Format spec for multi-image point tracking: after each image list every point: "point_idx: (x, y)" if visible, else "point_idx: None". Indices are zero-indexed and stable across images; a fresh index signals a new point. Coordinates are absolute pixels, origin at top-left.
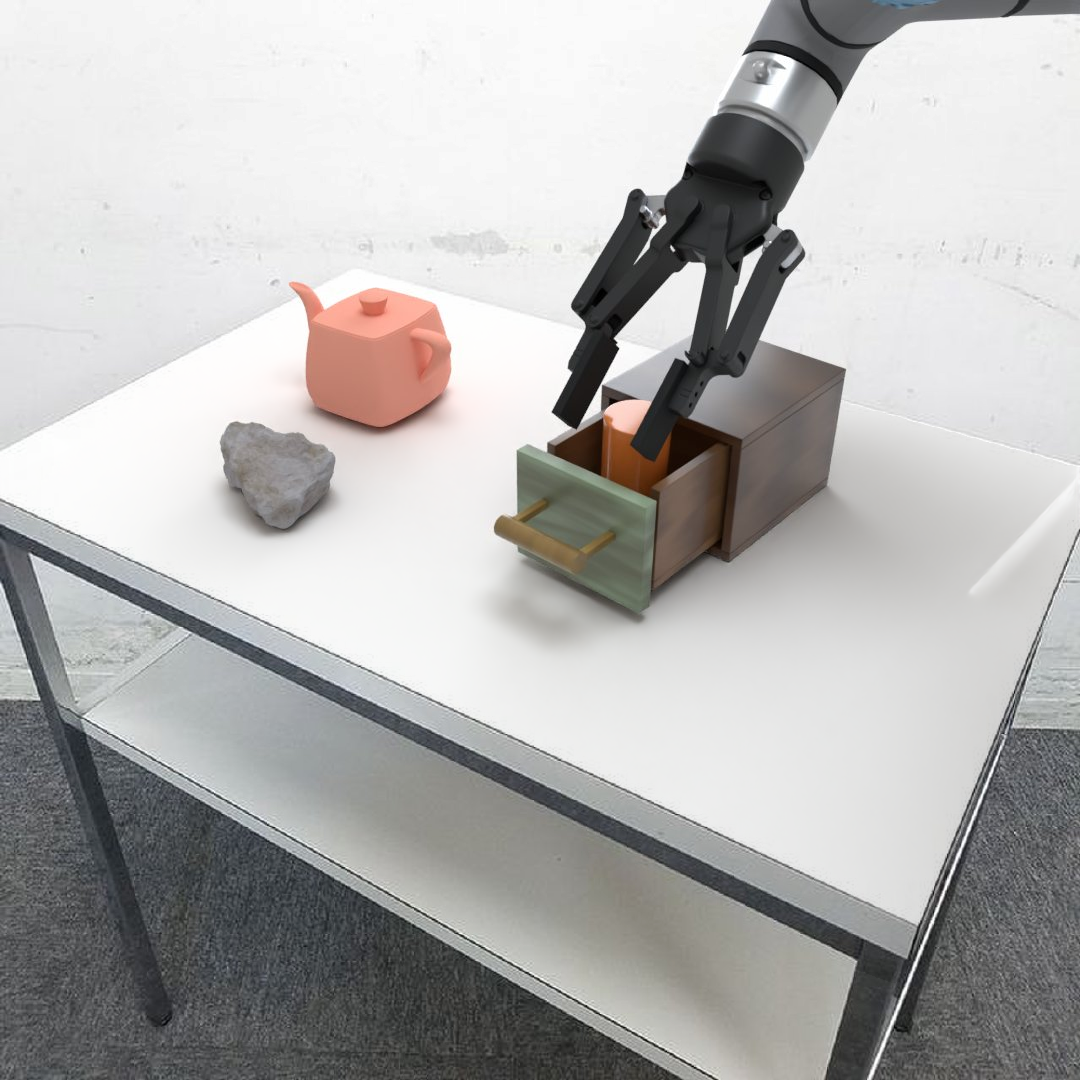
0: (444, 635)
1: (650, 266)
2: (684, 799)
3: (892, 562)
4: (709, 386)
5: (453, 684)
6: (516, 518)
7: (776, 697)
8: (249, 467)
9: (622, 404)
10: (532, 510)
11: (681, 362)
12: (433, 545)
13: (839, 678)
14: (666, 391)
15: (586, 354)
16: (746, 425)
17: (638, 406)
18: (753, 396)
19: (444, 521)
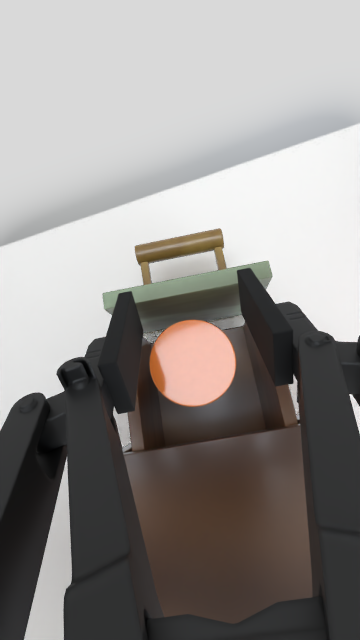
0: (211, 220)
1: (314, 479)
2: (19, 247)
3: (53, 552)
4: (233, 544)
5: (169, 202)
6: (216, 247)
7: (28, 344)
8: None
9: (227, 366)
10: (219, 265)
11: (102, 362)
12: (308, 266)
13: (9, 391)
14: (109, 332)
15: (268, 307)
16: None
17: (210, 379)
18: (171, 572)
19: (334, 290)
